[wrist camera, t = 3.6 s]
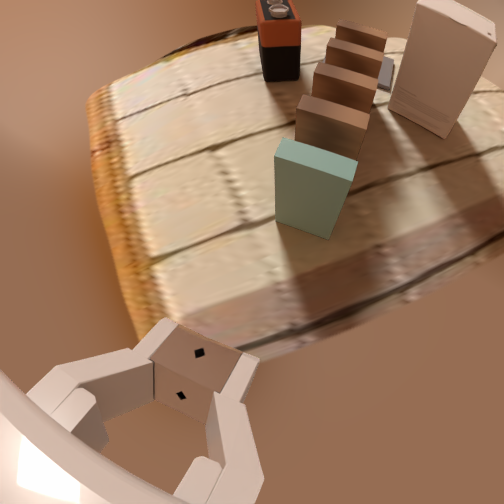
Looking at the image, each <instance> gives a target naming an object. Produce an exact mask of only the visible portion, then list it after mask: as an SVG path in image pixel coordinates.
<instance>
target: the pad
mask: <svg viewBox="0 0 504 504" xmlns="http://www.w3.org/2000/svg"><path fill="white" fill-rule="evenodd" d="M325 58H326V56H325ZM325 58H324V60H323V62H322V63H325ZM393 63H394V60H393V59H390V58H387V57H385V56H384V57H383V61H382V65H381V69H380V72H379V76H378V85H377V86H378V87H381V88H383V89H386V90H389V87H390V81H391V75H392V69H393Z"/></svg>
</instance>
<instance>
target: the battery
mask: <svg viewBox="0 0 504 504" xmlns="http://www.w3.org/2000/svg"><path fill="white" fill-rule="evenodd" d="M255 5H256V16H257V28H258V39H259V52H260V58H261V64H262V70H263V76H264V80H265V81H267V82H270V81H285V80H298V79H299V76H300V52H301V20H300V17H299V15H298V13H297V11H296V8H295V6H294V4H293V2H292V0H257V1H256V4H255Z"/></svg>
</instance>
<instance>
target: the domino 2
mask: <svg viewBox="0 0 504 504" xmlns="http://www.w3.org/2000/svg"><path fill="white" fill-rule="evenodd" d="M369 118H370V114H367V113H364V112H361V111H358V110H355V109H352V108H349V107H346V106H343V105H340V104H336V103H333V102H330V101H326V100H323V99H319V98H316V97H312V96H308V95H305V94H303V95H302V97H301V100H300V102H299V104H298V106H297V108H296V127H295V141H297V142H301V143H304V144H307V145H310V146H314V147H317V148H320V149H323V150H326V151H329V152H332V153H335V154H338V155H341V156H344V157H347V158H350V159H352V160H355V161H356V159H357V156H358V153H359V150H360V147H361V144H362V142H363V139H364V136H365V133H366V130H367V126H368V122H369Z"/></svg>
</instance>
